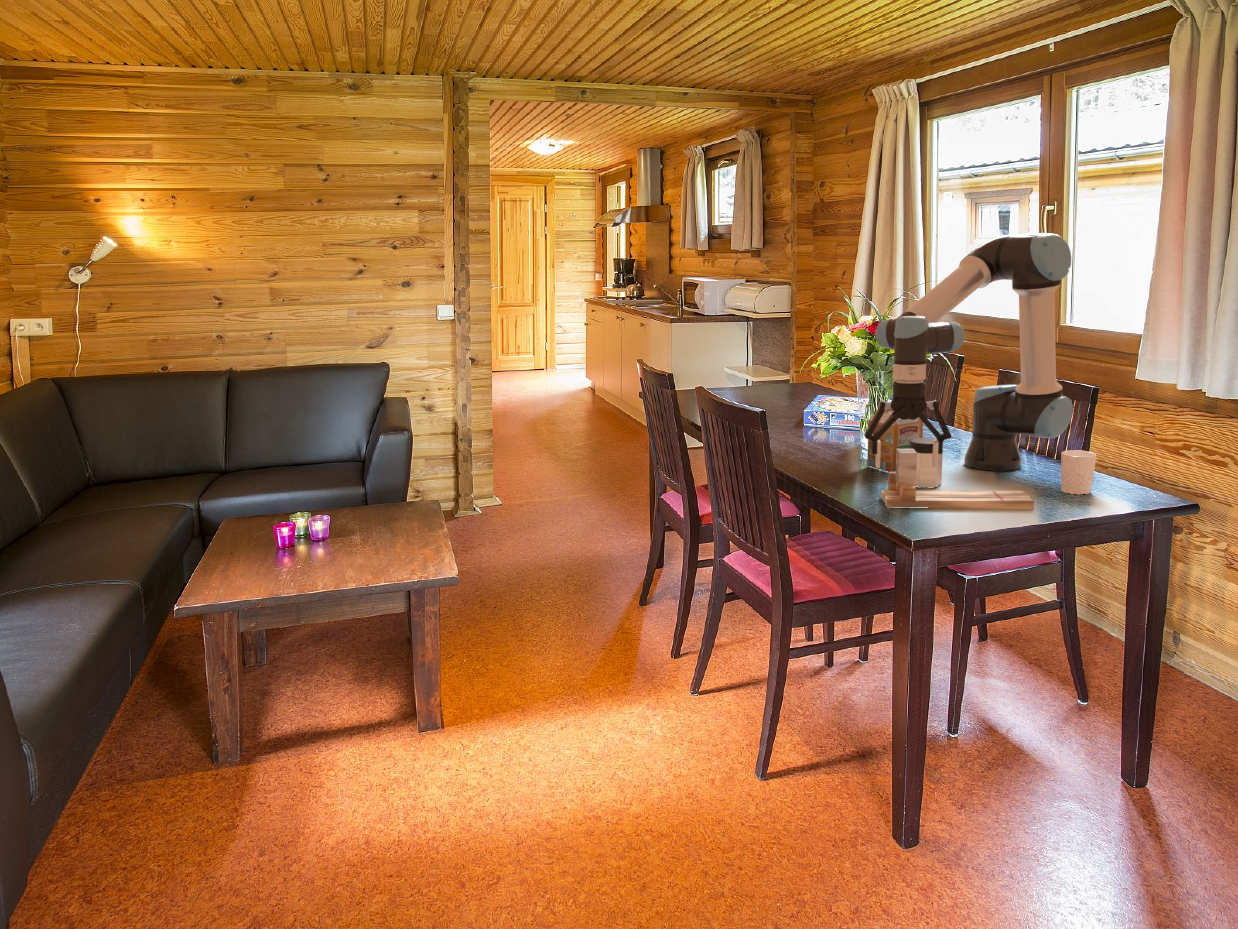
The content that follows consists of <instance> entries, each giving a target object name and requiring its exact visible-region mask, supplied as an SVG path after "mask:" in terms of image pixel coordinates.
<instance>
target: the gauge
mask: <svg viewBox="0 0 1238 929" xmlns="http://www.w3.org/2000/svg"><path fill="white" fill-rule="evenodd" d="M916 465H917V452H916V451H915V450H914V449H897V456H896V472H889V474H888V483H887V484H888V485H887V490H897V492H898V494H899V495H900V497H901V498H902V500H905V501H916V490H917V488H916V487H915V486H914V485H916Z"/></svg>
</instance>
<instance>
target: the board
mask: <svg viewBox="0 0 1238 929" xmlns="http://www.w3.org/2000/svg"><path fill="white" fill-rule="evenodd" d="M881 496H882V498H883V500H884V502H885V503H886V506H887V507H928V508H947V509H946V510H951V509H952V510H1034V508H1035V500H1033V498H1031V497H1030V496H1029V495H1028V494H1027V493H1025V492H1024V491H1023V490H918V489H916V501H905V500H902V498H901V497H900V495H899V494H898V492H897V490H888V489H886V490H883V489H882V490H881ZM881 496H880V497H881ZM882 498H881V499H882ZM883 500H882V501H883ZM884 502H883V503H884ZM886 506H885V507H886Z"/></svg>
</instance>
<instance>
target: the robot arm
mask: <svg viewBox="0 0 1238 929" xmlns="http://www.w3.org/2000/svg"><path fill="white" fill-rule="evenodd" d="M1071 265H1072V253H1071V249H1070V246H1069V244H1068V242H1067V240H1065V239H1064V238H1063V237H1062V236H1061V235H1059V234H1055V233H1046V232H1040V233H1039V232H1037V233H1036V232H1035V233H1023V234H1004V235H1000V236H997V237H996V238H993V239H991V240H989V241H986V242H985V243H983V244H981V245H980V246H978V247H977V248H975V249H973V250H972V251H970V253H968V254H967V255H966V256H964V257H963V258H962V259H961V260H960V262H959V264H958V267H957V268H956V269H955V270H954V271H952V272H951V273H949V275H948V276H946V277H945V278H944V279H942V280H941V281H940V282H939V283H938V284H936V285H935V286H934V287H933V288H932V289H930V290H929V291H927V293H926V294H924V295H923V296H922V297H921V298H919V299H918V300H917V301H916V302H915V303H914V304H913V305H911V306H910V307H908V308H907V309H906V310H905V311H904V312H903V313H902V314H900V315H899V316H898V317H896V318H895V319H894V318H888V319H883V320H882V321H880V322H879V323H878V325H877V327H876V329H875V334H874V335H875V340H876V344H878V346H879V347H881V348H883V349H889V350H893V374H892V376H893V378H892V379H893V380H894V382H892V399H891V401H884V400H879V402H878V406H877V407H878V408H877V410H876V412H875V413H874V414H875V416H874V417H873V419H872V421H871V423H870V425H869V427H868V426H867V429H866V430H865V432H864V434H863V435H864V436H863V437H864V438H865V439H867V440H868V439H869V440H871V441H872V449H871V451H872V453H873V454H876V463H875V466H876V467H877V468H880V453H881V442H880V440H878V439H879V438H880V437H881V436H882V435H883V434H884V433H885V432H886V431H887V430H888V429H889V427H890V426H891V425H892V424H893V423H894V422H895V421H897V419H898V418H900V419H902V420H906V419H911V420H915V419H917V418H918V417H919V418H920V419H921V421H922V422H923V425H924V426H926V428H927V429H928V430H929V431H930V433H931V434H932V435H933V436H934V438H935V439H937V440H933V458H932V466H933V467H934V468H937V467H938V454H942V452H943V453H944V441H946V440H949V439H951V438H952V434H951V432H950V430H949V427H948V426H947V423H946V422H945V419H944V417H943V415H942V412H940V403H939V402H938V401H937V400H936V399H932V401H931V400H930V401H926V382H925V380H926V379H927V360H928V358H927V357H928V355H933V354H944V353H945V354H949V353H951V352H956V351H957V350H959V349H960V348H961V347H962V346H963V344H964V340H965V330H964V329H963V327H962V326H961V324H959V323H958V322H957V321H952V320H951V321H950V320H949V321H947V320H944V321H941V320H942V319H943V318H945V316H947V315H948V314H949V313H950V312H951V311H953V310H954V309H955V308H956V307H957V306H959V305H960V304H961V303H962V302H964V301H965V300H966V299H967V298H968V297H970V296H971V295H972V294H973V293H974V292H975V291H976V290H979V289H983V288H986V287H987V286H988V285H990V284H991V283H993V282H997V281H1001V280H1003V281H1004V280H1005V281H1006V280H1008V281H1009V280H1010V281H1011V285H1012V286H1011V287H1012V288H1011V289H1012V290H1013V291H1014V292H1015V293H1016V294H1017V295H1018V308H1019V309H1018V317H1019V318H1018V319H1019V320H1018V321H1019V350H1020V352H1019V354H1020V383H1019V384H1000V385H998V384H997V385H989V386H981V387H978V388H977V389H975V392H974V398H973V410H972V411H973V414H972V435H971V440H970V443H969V445H968V448H967V450H966V453H965V454H964V463H963V464H964V465H965V467H968V468H971V469H975V470H981V471H988V472H990V471H991V472H992V471H993V472H1001V471H1002V472H1006V471H1015V470H1018V469H1021V467H1022V458H1021V457H1022V456H1021V454H1020V453H1021V452H1020V449H1019V446H1018V443H1017V434H1019V435H1023V436H1024V435H1025V436H1031V437H1035V438H1037V439H1038V438H1039V439H1042V438H1043V439H1055V438H1057V437H1060V436H1061V435H1062V434H1063V433H1064V432H1065V431H1066V429H1067V427H1068V426H1069V425H1070V422H1071V421H1072V417H1073V413H1074V410H1073V409H1074V407H1073V406H1074V405H1073V403H1072V401H1071V398H1069V397H1067V396H1066V395H1063V385H1062V384H1060V383H1059V382H1058V381H1057V370H1056V369H1057V368H1056V367H1057V364H1056V363H1057V362H1056V361H1057V360H1056V359H1057V358H1056V355H1057V354H1056V297H1055V296H1056V291H1057V290H1058V288H1060V286H1062V280H1063V279H1064V278H1065V277H1067V275H1068V274H1069V272H1070V268H1071ZM888 407H891V408H892V410H893V411H894V412H893V413H892V414H891V415H890V417H889V418H888V419H887V420H886V421H885V422H884V424H883V425H882V426H881V427H880V428H879V429H878V430H877V431H876V432H875V433H874V434H873V432H874V430H875V428H876V426H877V424H878V423H879V421H880V419H881V417H882V415H883V413H884V411H886V410H887V409H888ZM927 407H928V409H929V410H930V411H932V412H933V414H934V417H935V418H936V421H937V423H938V425H939V428H940V429H941V432H942V434H941V433H940V432H939V431H938V430H937V429H936V427H935V426H934V425H933V424H932V423H931V422H930V420H929V419H928V418H927V417H926V415H925V414H924V413H923V412H924V411H925V410H926V408H927ZM872 434H873V435H872Z"/></svg>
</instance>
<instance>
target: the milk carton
mask: <svg viewBox="0 0 1238 929" xmlns="http://www.w3.org/2000/svg"><path fill="white" fill-rule="evenodd" d="M893 412H894V411H893V410H892V408H891V407H888V409H887V410H886V411H884V413H883V415H882V417H881V419H880V421H879V423H878V424H877V426H876V428H875V430H874V432H873V434H874V433H875V432H876V431H877V430H878V429H879V428H880V427H881V426H882V425H883V424H884V422H885V421H886V420H887V419H888V418H889V417H890V415H891V414H892V413H893ZM875 414H876V413H874V414H873V415H871V417H870V418H869V419H868V422H867V424H868V425H867V428H868V427H869V425H870V423H871V421H872V419H873V417H874V416H875ZM873 434H872V435H873ZM923 436H924V423H923V422H922V421H921V419H920V418H919V417H918V418H917V419H915V420H911V419H906V420H902V419H900V418H898V419H897V421H895V422H894V423H893V424H892V425H891V426H890V427H889V429H888V430H887V431H886V432H885V433H884V434H883V435H882V436H881V437H880V438H879V439H878V440H880V442H881V453H880V468H877V467H876V466H875V463H876V454H873V453H872V451H871V449H872V441H871V440H869V439H867V461H866V463H867V464H866V465H868V466H872V467H875V468H877V469H882V470H885V471H888V472H896V456H897V449H910V440H911V439H915V438H924V437H923Z"/></svg>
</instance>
